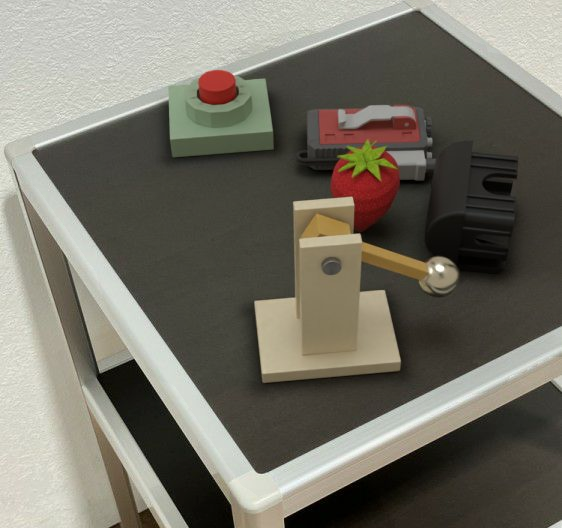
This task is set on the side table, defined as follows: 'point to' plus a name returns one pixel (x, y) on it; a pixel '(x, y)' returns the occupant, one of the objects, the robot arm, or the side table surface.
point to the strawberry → (366, 182)
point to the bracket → (326, 308)
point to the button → (217, 87)
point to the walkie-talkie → (370, 137)
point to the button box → (220, 120)
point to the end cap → (471, 207)
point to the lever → (395, 259)
